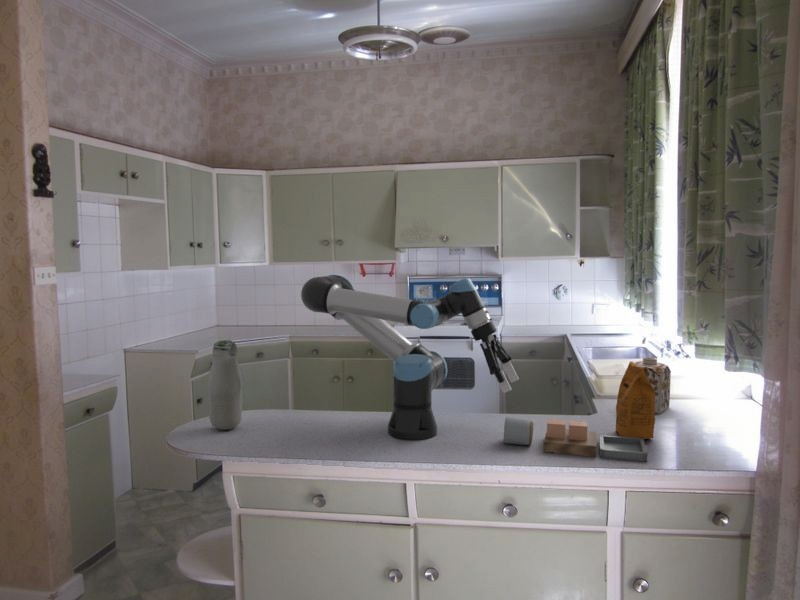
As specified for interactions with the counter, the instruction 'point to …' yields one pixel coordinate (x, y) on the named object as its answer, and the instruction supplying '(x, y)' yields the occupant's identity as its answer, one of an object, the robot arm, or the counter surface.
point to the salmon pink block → (556, 428)
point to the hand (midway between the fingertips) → (511, 386)
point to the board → (572, 445)
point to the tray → (623, 448)
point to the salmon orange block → (578, 430)
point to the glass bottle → (225, 387)
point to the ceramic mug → (518, 431)
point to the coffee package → (635, 404)
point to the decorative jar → (658, 382)
